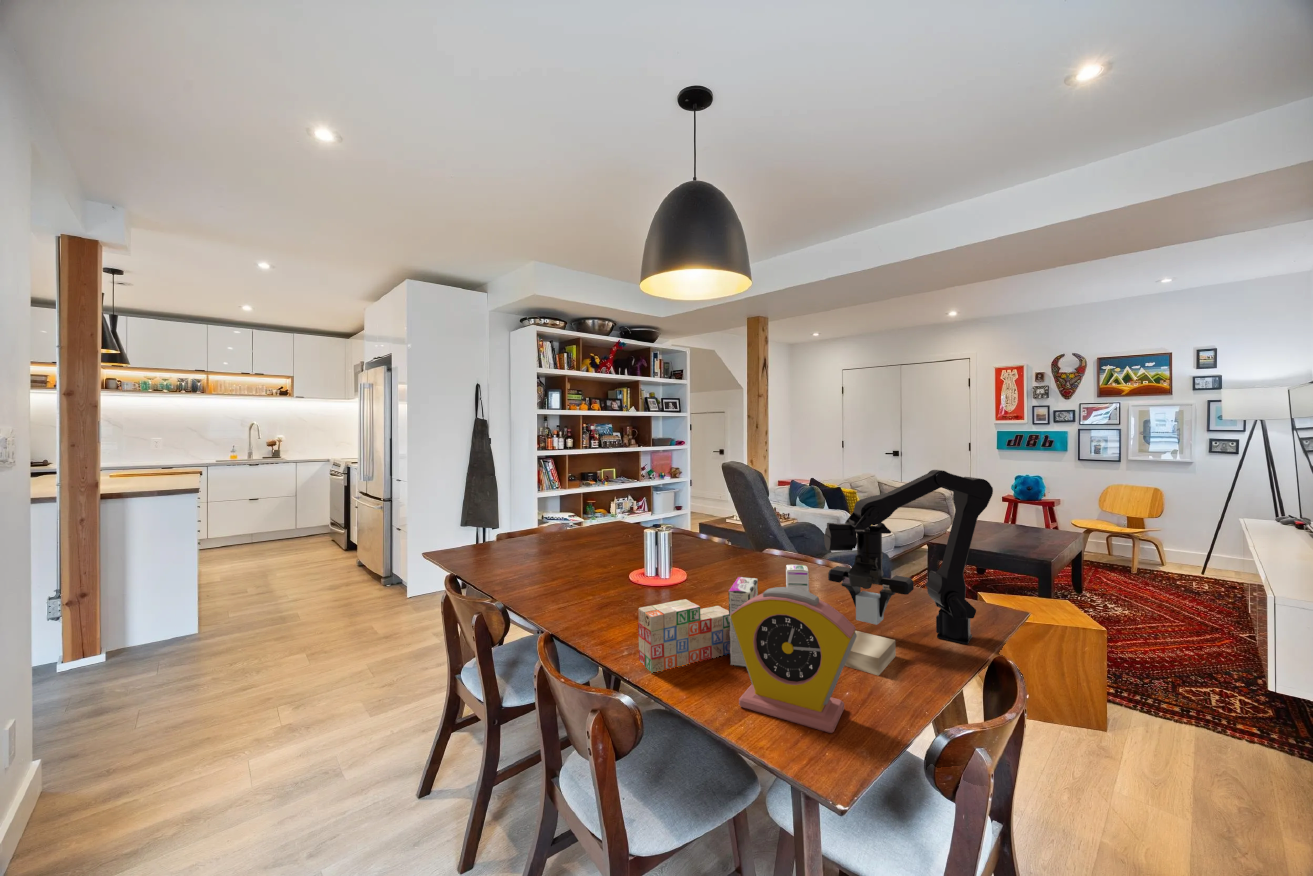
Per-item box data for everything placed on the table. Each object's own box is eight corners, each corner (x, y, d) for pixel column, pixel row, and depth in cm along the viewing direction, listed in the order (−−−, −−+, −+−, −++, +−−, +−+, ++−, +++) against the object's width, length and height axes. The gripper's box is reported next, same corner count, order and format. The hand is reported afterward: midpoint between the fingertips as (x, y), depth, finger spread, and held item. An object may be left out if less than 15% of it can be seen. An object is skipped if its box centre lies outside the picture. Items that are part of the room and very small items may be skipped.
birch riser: (895, 658, 113) (895, 640, 113) (878, 677, 103) (878, 658, 103) (841, 644, 120) (841, 627, 120) (821, 661, 111) (821, 643, 111)
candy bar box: (737, 645, 119) (737, 576, 119) (759, 648, 117) (758, 578, 117) (728, 665, 108) (727, 589, 108) (751, 669, 107) (750, 592, 107)
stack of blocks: (719, 644, 120) (718, 592, 120) (734, 654, 115) (734, 600, 115) (638, 663, 110) (637, 606, 110) (651, 675, 105) (650, 615, 105)
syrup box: (810, 626, 131) (810, 570, 131) (786, 624, 132) (786, 569, 132) (808, 618, 136) (808, 564, 136) (785, 617, 137) (785, 563, 137)
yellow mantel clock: (724, 703, 93) (724, 587, 93) (743, 682, 101) (742, 575, 101) (850, 740, 82) (849, 607, 81) (860, 713, 89) (859, 592, 89)
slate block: (883, 619, 124) (883, 594, 124) (877, 624, 120) (877, 599, 120) (862, 614, 127) (862, 590, 127) (855, 620, 124) (855, 595, 124)
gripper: (819, 551, 124) (819, 614, 124) (900, 563, 112) (901, 633, 112) (836, 543, 132) (836, 603, 132) (914, 554, 120) (914, 619, 120)
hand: (869, 614), depth 124 cm, fingers closed on slate block, 5 cm apart
